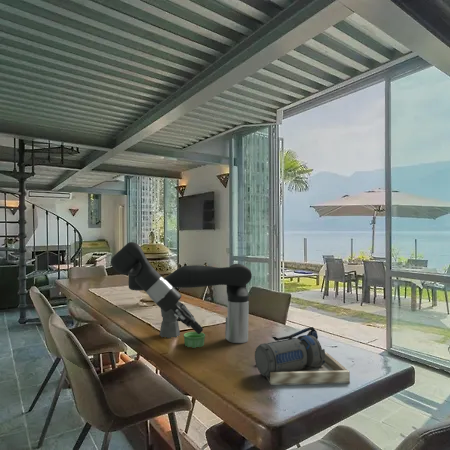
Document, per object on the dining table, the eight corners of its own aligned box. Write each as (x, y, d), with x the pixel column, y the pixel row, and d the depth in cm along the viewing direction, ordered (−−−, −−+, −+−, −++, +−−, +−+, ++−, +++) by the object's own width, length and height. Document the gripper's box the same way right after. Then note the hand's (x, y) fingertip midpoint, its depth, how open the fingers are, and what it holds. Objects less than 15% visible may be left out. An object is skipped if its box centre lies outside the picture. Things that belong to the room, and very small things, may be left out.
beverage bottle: (249, 337, 118) (307, 327, 129) (256, 379, 114) (314, 365, 125) (265, 336, 109) (325, 325, 120) (273, 381, 105) (334, 365, 117)
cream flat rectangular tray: (270, 385, 106) (271, 373, 106) (258, 363, 124) (258, 353, 124) (349, 383, 109) (349, 371, 109) (326, 361, 127) (326, 352, 127)
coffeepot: (152, 334, 158) (153, 294, 159) (168, 330, 165) (169, 292, 166) (174, 341, 148) (175, 299, 149) (190, 337, 155) (191, 296, 156)
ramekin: (188, 341, 150) (188, 330, 150) (208, 343, 147) (208, 332, 147) (179, 347, 141) (180, 336, 141) (200, 349, 139) (200, 338, 139)
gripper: (157, 298, 119) (192, 334, 119) (152, 306, 105) (192, 346, 106) (173, 283, 119) (208, 318, 120) (170, 288, 106) (210, 328, 107)
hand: (201, 331), depth 113 cm, fingers closed
